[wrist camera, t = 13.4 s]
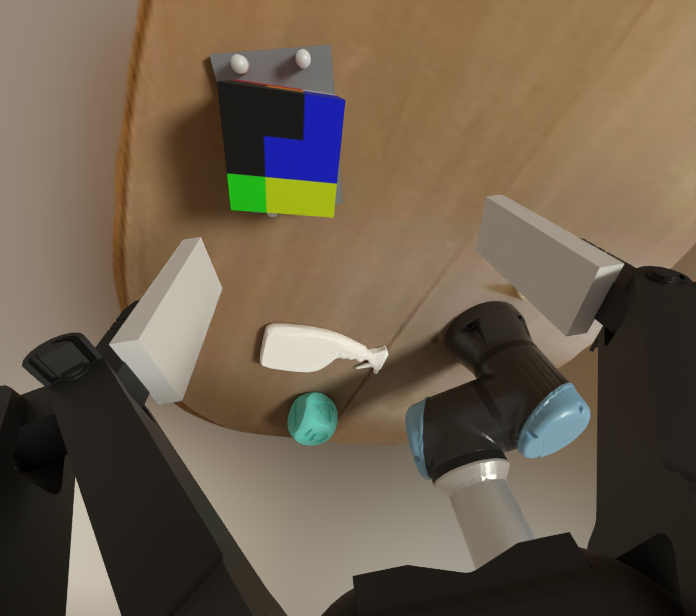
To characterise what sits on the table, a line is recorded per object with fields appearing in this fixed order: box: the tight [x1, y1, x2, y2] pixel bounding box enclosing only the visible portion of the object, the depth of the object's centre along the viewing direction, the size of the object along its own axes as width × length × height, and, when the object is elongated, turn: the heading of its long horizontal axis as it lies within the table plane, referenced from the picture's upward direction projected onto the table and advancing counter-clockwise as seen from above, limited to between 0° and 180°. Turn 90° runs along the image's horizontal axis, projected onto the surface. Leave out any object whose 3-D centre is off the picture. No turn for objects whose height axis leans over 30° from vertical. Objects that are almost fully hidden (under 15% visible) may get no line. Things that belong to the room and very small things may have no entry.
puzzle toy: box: [217, 80, 345, 217], centre depth 31 cm, size 10×10×10 cm
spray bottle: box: [260, 323, 388, 374], centre depth 58 cm, size 3×11×24 cm
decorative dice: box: [288, 392, 338, 445], centre depth 65 cm, size 8×8×8 cm
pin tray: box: [209, 45, 343, 217], centre depth 34 cm, size 16×12×4 cm
